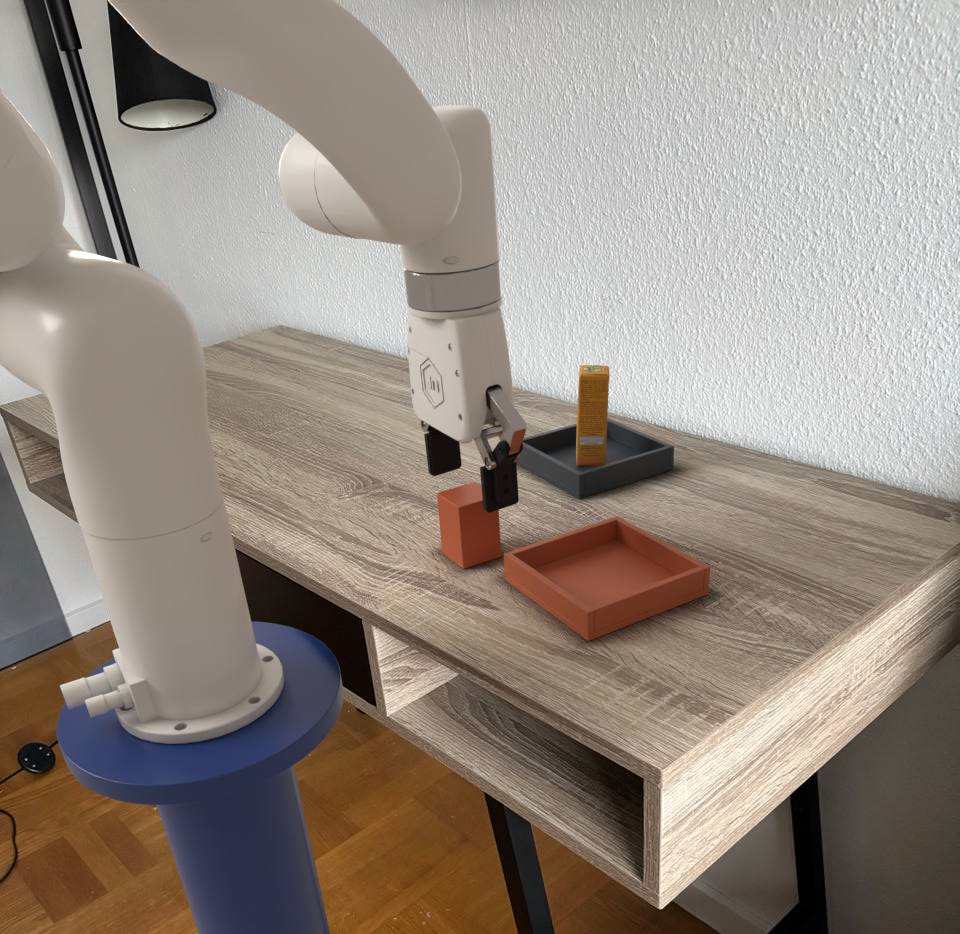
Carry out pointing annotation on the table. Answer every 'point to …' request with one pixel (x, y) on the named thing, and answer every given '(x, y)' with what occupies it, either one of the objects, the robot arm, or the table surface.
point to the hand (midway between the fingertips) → (472, 488)
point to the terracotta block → (468, 526)
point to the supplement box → (592, 415)
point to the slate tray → (624, 464)
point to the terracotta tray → (605, 576)
